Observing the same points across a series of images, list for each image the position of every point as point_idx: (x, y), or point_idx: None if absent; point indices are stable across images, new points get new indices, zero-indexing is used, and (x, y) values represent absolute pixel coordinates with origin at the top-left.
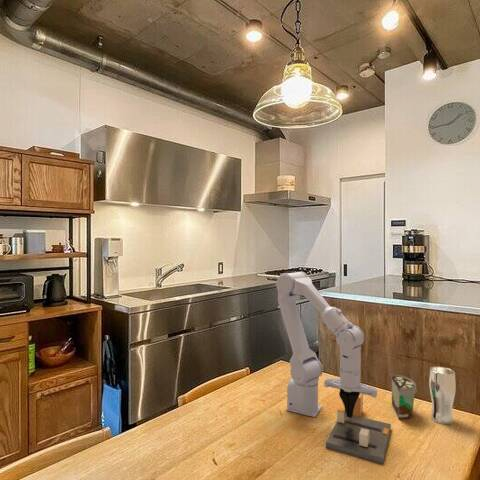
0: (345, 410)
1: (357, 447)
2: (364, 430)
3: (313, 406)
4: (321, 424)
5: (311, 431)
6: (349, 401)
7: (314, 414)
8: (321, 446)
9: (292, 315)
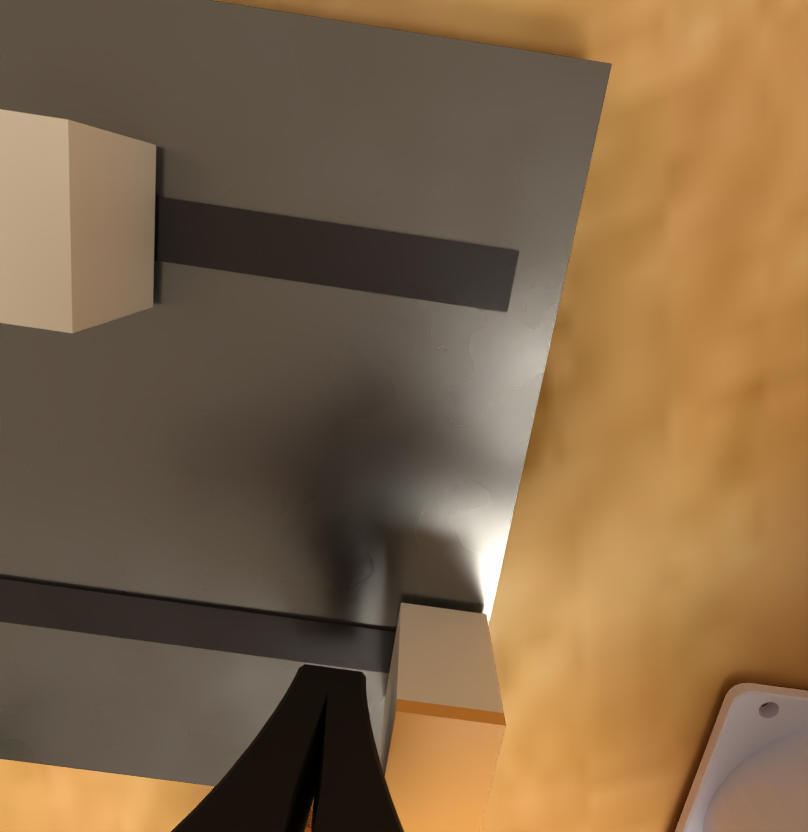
0: (383, 770)
1: (176, 96)
2: (10, 270)
3: (795, 817)
4: (651, 576)
5: (770, 396)
6: None
7: (743, 719)
8: (644, 95)
9: None
